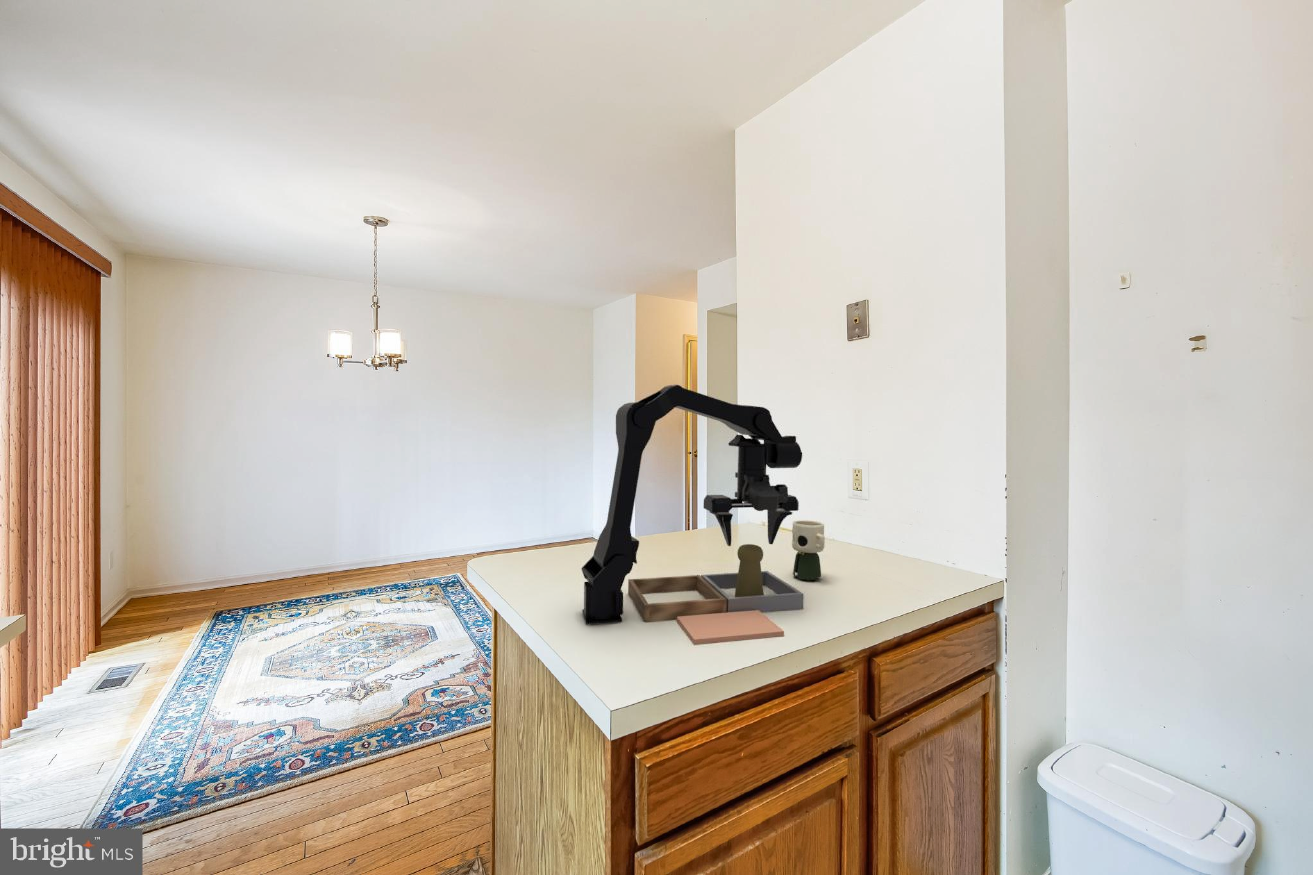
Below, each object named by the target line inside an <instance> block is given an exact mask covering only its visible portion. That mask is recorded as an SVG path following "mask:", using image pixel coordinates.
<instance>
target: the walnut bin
mask: <svg viewBox="0 0 1313 875" xmlns="http://www.w3.org/2000/svg"><path fill="white" fill-rule="evenodd" d="M627 581H628V582H627V583H628V584H627V585H628V587H627V588H628V589H627V590H628V591H627V594H628V597H630V599H631V601H632V603H633V604H635V605H634V606H635V608H636V610H637V611H638V613H639V615H640V617H641V619H642V621H643V622H644V623H650V622H651V623H652V622H662V621H663V622H664V621H672V620H673V621H674V620H675V621H677V617H679V616H691V615H703V614H716V613H726V599H725V598H724V597H723V596H722V595H721V594H720V593H719V592H718V591H717V590H715V589H714V588H713V587H712V586H711V585H710V584H709V583H708V582H707V581H705V580H704V579H703V578H702V577H701V574H696V575H695V574H692V575H691V574H690V575H679V576H678V575H677V576H663V577H661V576H660V577H659V576H658V577H647V578H646V577H643V578H628V580H627ZM691 590H692V591H697V592H698V593H699V594H700V596H702V597H703V598H704V599H697V600H696V599H695V600H682V601H667V602H655V603H654V602H653V603H649V602H648V601H647V600H646V598H645V596H644V595H645V594H646V595H647V594H659V593H661V594H662V593H673V592H678V593H679V592H689V591H691ZM692 591H691V592H692Z"/></svg>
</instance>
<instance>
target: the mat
mask: <svg viewBox="0 0 1313 875" xmlns="http://www.w3.org/2000/svg"><path fill="white" fill-rule="evenodd" d="M676 622H677V624H678V625H679V626H680V627H681V629H682V630H683V632H684V633H685V634H686V635H687V637H688V638H689V640H690V641H691V642H692V643H693V645H702V644H703V645H704V644H713V643H724V642H733V641H744V640H745V641H746V640H755V639H766V638H776V637H784V636H785V631H784V630H783V629H782V628H781V627H780V626H779V625H777V624H776V623H775V622H774V621H772V620H771V619H770V618H769V617H767V615H765V614H764V612H760V611H759V610H753V611H740V612H728V613H716V614H703V615H691V616H679V617H677V619H676Z"/></svg>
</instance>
